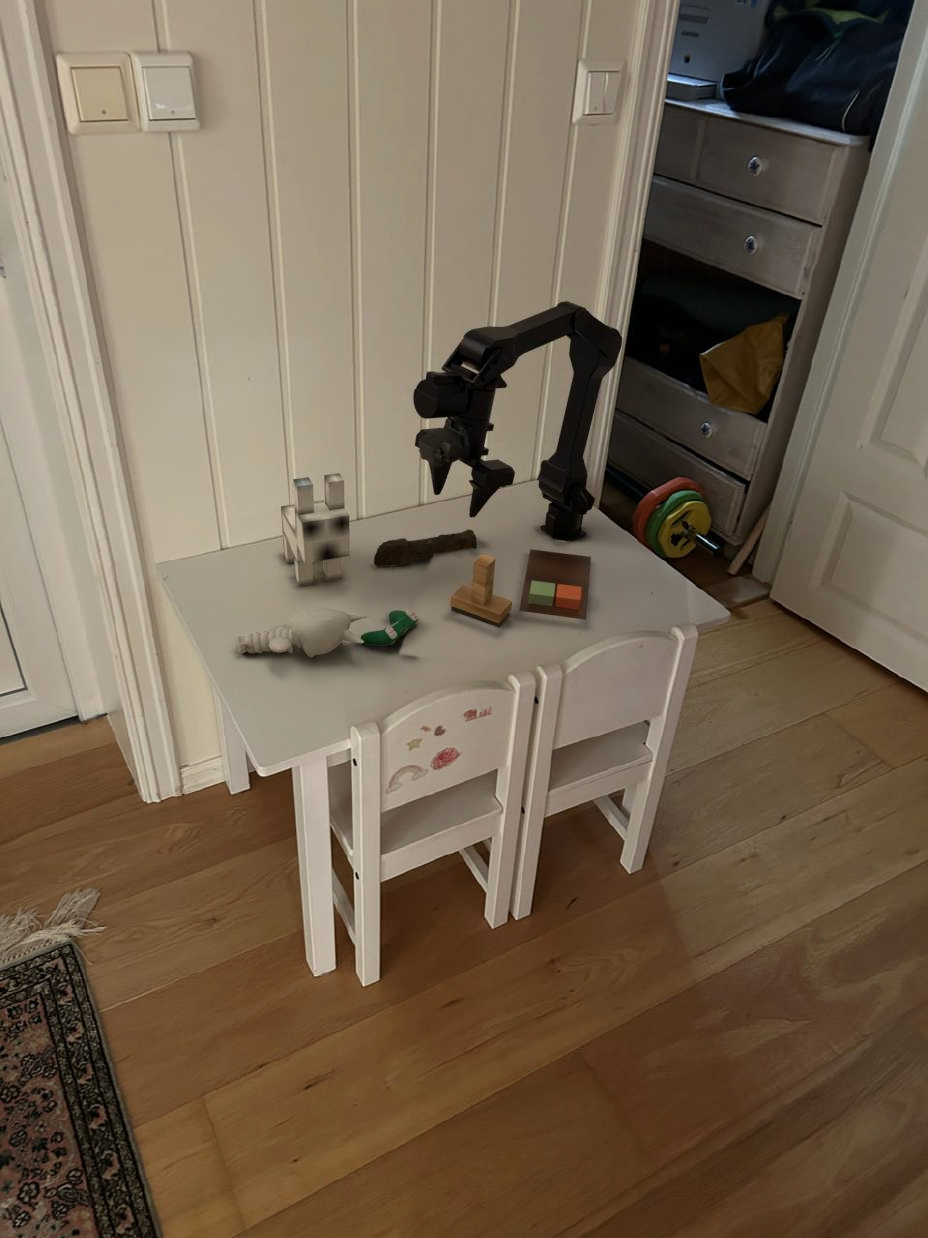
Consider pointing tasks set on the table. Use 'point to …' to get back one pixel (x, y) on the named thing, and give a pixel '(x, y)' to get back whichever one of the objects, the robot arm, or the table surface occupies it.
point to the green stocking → (391, 629)
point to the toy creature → (304, 633)
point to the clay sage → (542, 593)
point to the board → (557, 580)
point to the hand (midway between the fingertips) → (454, 505)
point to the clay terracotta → (568, 596)
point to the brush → (481, 595)
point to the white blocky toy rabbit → (316, 529)
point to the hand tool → (422, 548)
